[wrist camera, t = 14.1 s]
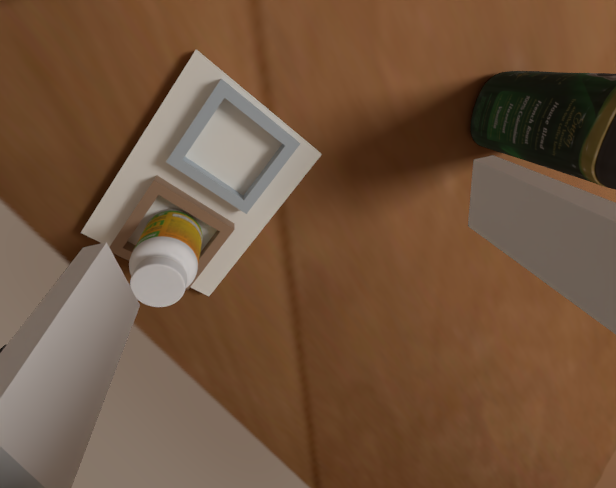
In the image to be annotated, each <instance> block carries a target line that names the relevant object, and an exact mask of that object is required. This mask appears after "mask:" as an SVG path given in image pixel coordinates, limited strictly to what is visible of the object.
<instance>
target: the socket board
mask: <svg viewBox="0 0 616 488" xmlns="http://www.w3.org/2000/svg"><path fill="white" fill-rule="evenodd" d="M321 155H322V154H321V153H320V152H319V151H318V150H317V149H315V148H314V147H313V146H312V145H311V144H309V143H308V142H307V141H306V140H305V139H303V138H302V137H301V136H300V135H299V134H297V133H296V132H295V131H294V130H293V129H291V128H290V127H289V126H288V125H287V124H285V123H284V122H283V121H282V120H281V119H279V118H278V117H277V116H276V115H275V114H273V113H272V112H271V111H270V110H269V109H267V108H266V107H265V106H264V105H263V104H261V103H260V102H259V101H258V100H257V99H255V98H254V97H253V96H252V95H251V94H249V93H248V92H247V91H246V90H245V89H243V88H242V87H241V86H240V85H239V84H237V83H236V82H235V81H234V80H233V79H231V78H230V77H229V76H228V75H227V74H225V73H224V72H223V71H222V70H220V69H219V68H218V67H217V66H216V65H214V64H213V63H212V62H211V61H210V60H208V59H207V58H206V57H205V56H204V55H202V54H201V53H200V52H199V51H198V50H195V52H194V53H193V55H192V57H191V58H190V60H189V61H188V63H187V64H186V66H185V68H184V69H183V71H182V72H181V74H180V76H179V77H178V79H177V80H176V82H175V84H174V85H173V87H172V88H171V90H170V91H169V93H168V95H167V96H166V98H165V99H164V101H163V103H162V104H161V106H160V107H159V109H158V111H157V112H156V114H155V115H154V117H153V118H152V120H151V122H150V123H149V125H148V126H147V128H146V130H145V131H144V133H143V134H142V136H141V138H140V139H139V141H138V142H137V144H136V145H135V147H134V149H133V150H132V152H131V153H130V155H129V157H128V158H127V160H126V161H125V163H124V165H123V166H122V168H121V169H120V171H119V172H118V174H117V176H116V177H115V179H114V180H113V182H112V184H111V185H110V187H109V188H108V190H107V192H106V193H105V195H104V196H103V198H102V199H101V201H100V203H99V204H98V206H97V207H96V209H95V211H94V212H93V214H92V215H91V217H90V219H89V220H88V222H87V223H86V225H85V226H84V228H83V230H82V231H81V233H82V234H84V235H86V236H88V237H90V238H92V239H94V240H96V241H98V242H100V243H105V242H107V244H108V246H109V248H110V250H111V251H112V253H114V254H116V255H118V256H120V257H122V258H124V259H126V260H128V261H129V260H130V257H131V254H132V252H133V250H134V248H135V246H136V244H137V242H138V240H139V238H140V236H141V235H142V233H143V231H144V229H145V227H146V225H147V223H148V222H149V220H150V219H151V218H152V217H153V216H154V215H155V214H157V213H158V212H161V211H163V210H168V209H177V210H182V211H185V212H187V213H189V214H191V215H192V216H193V217H194V218H195V219H196V220H197V221H198V222H199V224H200V226H201V228H202V232H203V239H202V246H201V252H200V258H199V264H198V270H197V274H196V277H195V279H194V280H193V282H192V283H191V284H190V285H189V286H188V287H187V288H186V289H187V290H188V289H189V288H190V287H191V288H193V289H195V290H197V291H199V292H201V293H203V294H205V295H207V296H210V295H211V293H212V292H213V291H214V289H215V288H216V287H217V286H218V284H219V283H220V282H221V281H222V279H223V278H224V277H225V276H226V274H227V273H228V272H229V271H230V269H231V268H232V267H233V266H234V264H235V263H236V262H237V261H238V259H239V258H240V257H241V255H242V254H243V253H244V252H245V250H246V249H247V248H248V247H249V245H250V244H251V243H252V242H253V240H254V239H255V238H256V237H257V235H258V234H259V233H260V232H261V230H262V229H263V228H264V227H265V225H266V224H267V223H268V221H269V220H270V219H271V218H272V216H273V215H274V214H275V213H276V211H277V210H278V209H279V208H280V206H281V205H282V204H283V203H284V201H285V200H286V199H287V198H288V196H289V195H290V194H291V193H292V191H293V190H294V189H295V187H296V186H297V185H298V184H299V182H300V181H301V180H302V179H303V177H304V176H305V175H306V174H307V172H308V171H309V170H310V169H311V167H312V166H313V165H314V164H315V162H316V161H317V160H318V159H319V157H320V156H321Z"/></svg>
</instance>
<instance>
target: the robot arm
mask: <svg viewBox="0 0 616 488" xmlns="http://www.w3.org/2000/svg"><path fill="white" fill-rule="evenodd" d="M468 226H469V227H470V228H471V229H473V230H474V231H475V232H477V233H478V234H480V235H481V236H482V237H484V238H485V239H486V240H488V241H489V242H490V243H492V244H493V245H495V246H496V247H497V248H499V249H500V250H501V251H503V252H504V253H505V254H507V255H508V256H510V257H511V258H512V259H514V260H515V261H516V262H518V263H519V264H520V265H522V266H523V267H525V268H526V269H527V270H529V271H530V272H531V273H533V274H534V275H535V276H537V277H538V278H540V279H541V280H542V281H544V282H545V283H546V284H548V285H549V286H550V287H552V288H553V289H555V290H556V291H557V292H559V293H560V294H561V295H563V296H564V297H565V298H567V299H568V300H570V301H571V302H572V303H574V304H575V305H576V306H578V307H579V308H580V309H582V310H583V311H585V312H586V313H587V314H589V315H590V316H591V317H593V318H594V319H596V320H597V321H598V322H600V323H601V324H602V325H604V326H605V327H606V328H608V329H609V330H611V331H612V332H613V333H615V334H616V203H615V202H612V201H609V200H607V199H604V198H602V197H599V196H597V195H594V194H591V193H589V192H586V191H584V190H581V189H579V188H576V187H573V186H571V185H568V184H566V183H563V182H561V181H558V180H555V179H553V178H550V177H548V176H545V175H543V174H540V173H537V172H535V171H532V170H530V169H527V168H524V167H522V166H519V165H517V164H514V163H512V162H509V161H506V160H504V159H501V158H499V157H496V156H494V155H492V156H488V157H483V158H479V159H474V161H473V173H472V185H471V197H470V209H469V221H468ZM139 307H140V304H139V303H138V301H137V299H136V297H135V295H134V293H133V291H132V289H131V287H130V286H129V284H128V282H127V280H126V278H125V276H124V274H123V272H122V270H121V268H120V267H119V265H118V263H117V261H116V259H115V257H114V255H113V253H112V251H111V250H110V248H109V246H108V244H107V242H105V243H101V244H96V245H92V246H88V247H83V248H82V250H81V251H80V252H79V253H78V255H77V256H76V257H75V258H74V260H73V261H72V262H71V264H70V265H69V266H68V267H67V269H66V270H65V271H64V273H63V274H62V275H61V276H60V278H59V279H58V280H57V281H56V283H55V284H54V285H53V287H52V288H51V289H50V290H49V292H48V293H47V294H46V295H45V297H44V298H43V299H42V301H41V302H40V303H39V304H38V306H37V307H36V308H35V310H34V311H33V312H32V313H31V315H30V316H29V317H28V318H27V320H26V321H25V322H24V324H23V325H22V326H21V327H20V329H19V330H18V331H17V333H16V334H15V335H14V336H13V338H12V339H11V340H10V341H9V343H8V344H7V345H4V346H3V347H2V348H1V349H0V488H71V487H72V484H73V482H74V479H75V476H76V474H77V471H78V469H79V466H80V463H81V461H82V458H83V455H84V452H85V450H86V447H87V445H88V442H89V439H90V437H91V434H92V431H93V429H94V426H95V423H96V421H97V418H98V416H99V413H100V410H101V408H102V405H103V402H104V400H105V397H106V394H107V391H108V389H109V386H110V384H111V381H112V378H113V375H114V373H115V370H116V368H117V365H118V362H119V360H120V357H121V354H122V352H123V349H124V346H125V344H126V341H127V338H128V336H129V333H130V330H131V328H132V325H133V323H134V320H135V317H136V315H137V312H138V309H139Z"/></svg>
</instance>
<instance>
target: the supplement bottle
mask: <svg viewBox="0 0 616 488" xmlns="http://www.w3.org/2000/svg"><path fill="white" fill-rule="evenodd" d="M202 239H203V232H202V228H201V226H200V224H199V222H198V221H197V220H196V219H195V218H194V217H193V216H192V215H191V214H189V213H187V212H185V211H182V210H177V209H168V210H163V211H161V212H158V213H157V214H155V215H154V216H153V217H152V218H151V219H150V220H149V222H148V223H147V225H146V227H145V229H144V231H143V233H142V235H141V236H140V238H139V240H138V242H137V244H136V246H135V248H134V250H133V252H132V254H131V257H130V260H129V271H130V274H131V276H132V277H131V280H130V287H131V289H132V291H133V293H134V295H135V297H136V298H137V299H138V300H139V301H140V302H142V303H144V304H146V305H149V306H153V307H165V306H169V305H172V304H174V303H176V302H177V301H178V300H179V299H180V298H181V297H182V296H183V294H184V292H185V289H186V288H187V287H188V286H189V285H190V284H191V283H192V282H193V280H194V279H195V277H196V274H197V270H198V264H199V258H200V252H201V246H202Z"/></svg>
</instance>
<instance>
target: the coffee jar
mask: <svg viewBox="0 0 616 488" xmlns="http://www.w3.org/2000/svg"><path fill="white" fill-rule="evenodd" d="M471 135H472V138H473V140H474V141H475V142H476V143H477V144H478V145H480V146H482V147H485V148H488V149H491V150H494V151H497V152H501V153H504V154H507V155H510V156H514V157H517V158H520V159H523V160H526V161H529V162H532V163H535V164H538V165H541V166H544V167H547V168H550V169H554V170H557V171H560V172H563V173H565V174H569V175H572V176H575V177H578V178H581V179H584V180H587V181H590V182H593V183H596V184H598V185H601V186H604V187H608V188H612V189H616V74H606V73H601V74H599V73H557V72H539V71H510V72H502V73H499V74H497V75H495V76H493V77H492V78H490V80H488V81H487V83H486V84H485V85H484V86H483V88H482V89H481V91H480V93H479V96H478V98H477V100H476V103H475V106H474V109H473V114H472V118H471Z"/></svg>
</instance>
